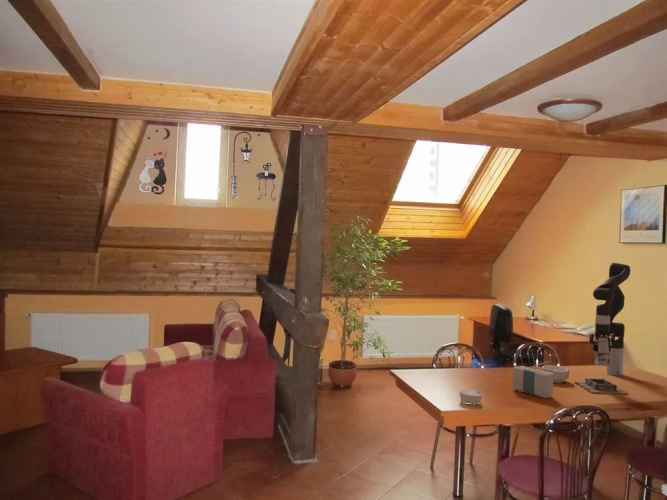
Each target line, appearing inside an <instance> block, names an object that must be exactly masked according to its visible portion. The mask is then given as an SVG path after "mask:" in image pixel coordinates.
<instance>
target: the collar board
mask: <svg viewBox="0 0 667 500" xmlns="http://www.w3.org/2000/svg"><path fill="white" fill-rule="evenodd" d="M574 384H575V385H577V386H578V385H579V386H578V387H580V386H581V387H580V388H582V389H583V388H584V389H583V390H585V391H587V392H589V393H591V394H593V395H594V394H596V395H597V394H598V395H626V396H627V395H629V392H628V391H626V390H624V389H622V388H620V387H618V386H617V384H615V383H612V381H609V380H607V379H605V378H586V377H585V381H574Z"/></svg>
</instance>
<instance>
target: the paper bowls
mask: <svg viewBox="0 0 667 500" xmlns="http://www.w3.org/2000/svg"><path fill="white" fill-rule="evenodd" d="M541 370H542V371H546V372H551V373H554V377H553V383H554V382H559V383H558V384H561V382H562V383H564V382H565V381H566V380H567V379H569V377H570V369H569V368H566V367H564V366H563V367H562V366H557V365H542V366H541Z"/></svg>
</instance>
